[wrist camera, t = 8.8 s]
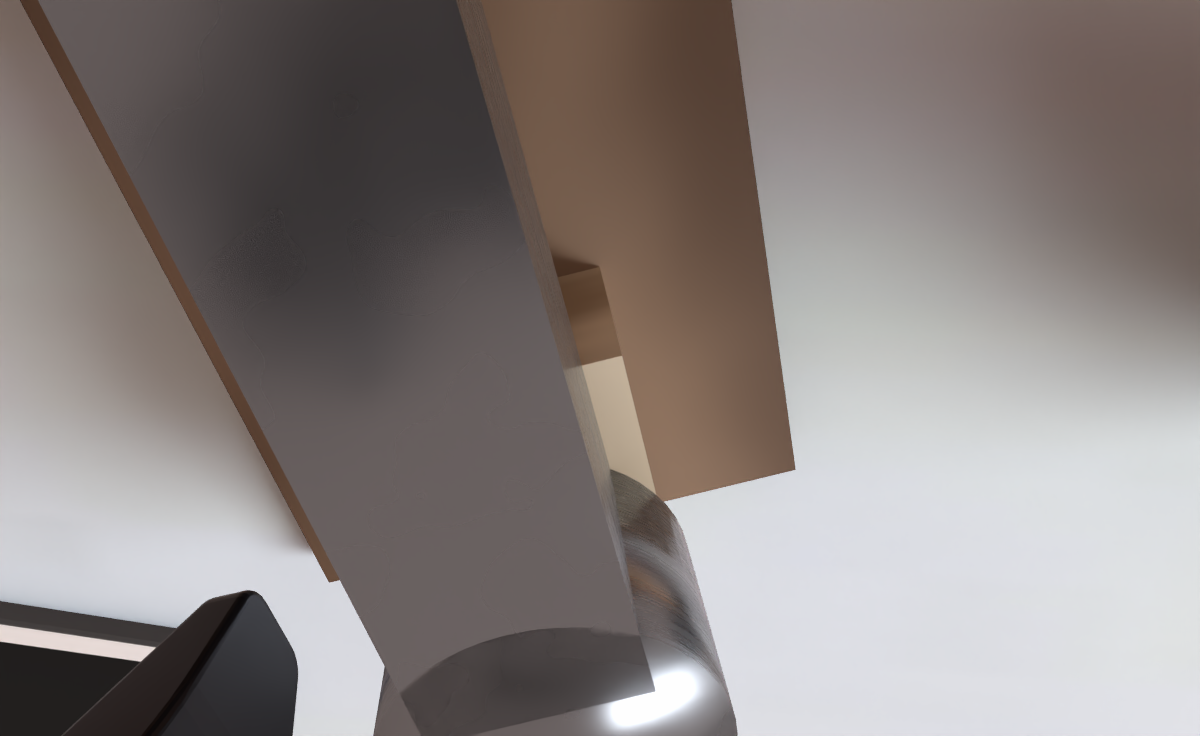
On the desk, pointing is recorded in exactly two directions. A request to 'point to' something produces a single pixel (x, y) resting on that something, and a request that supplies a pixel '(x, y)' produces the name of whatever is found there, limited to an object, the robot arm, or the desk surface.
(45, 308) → the desk surface
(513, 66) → the tool rack
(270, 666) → the robot arm
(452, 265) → the grey long block
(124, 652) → the cell phone
